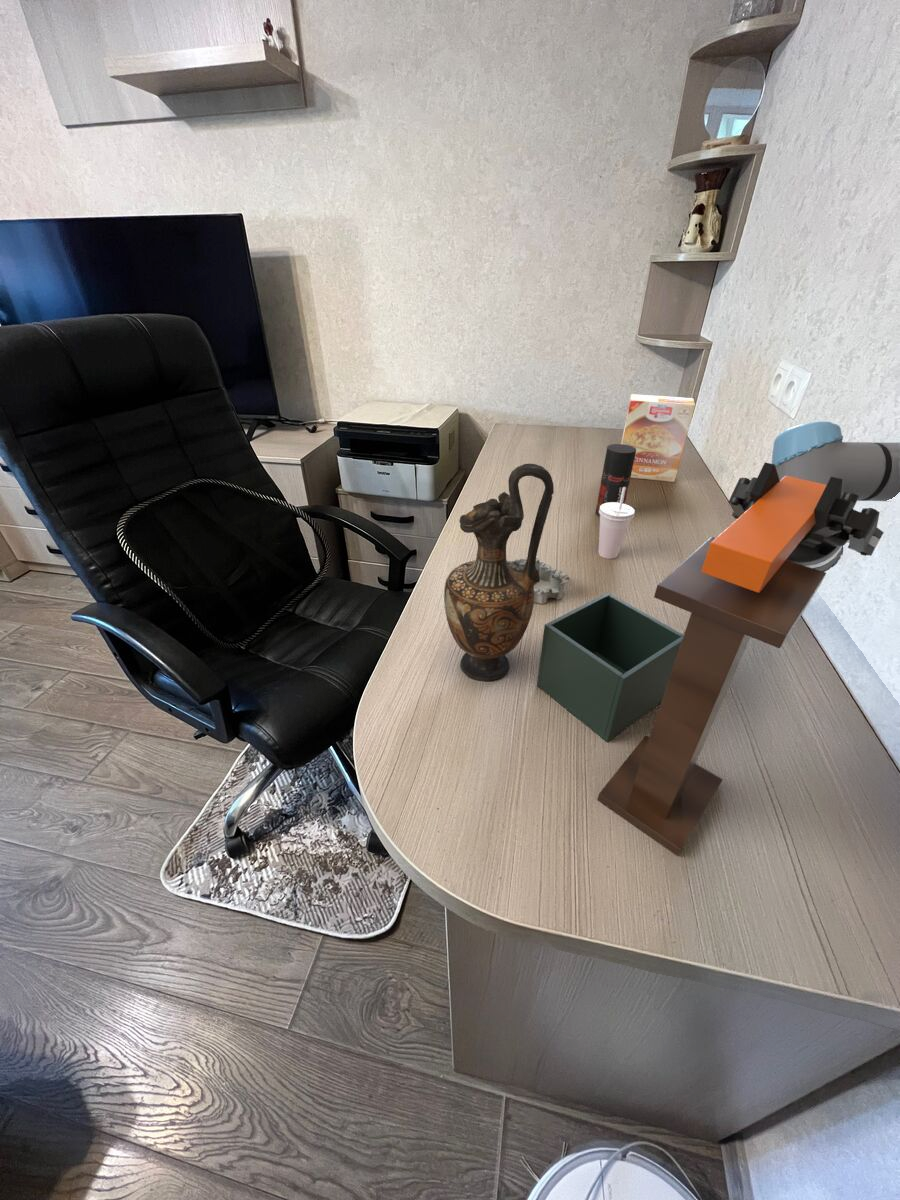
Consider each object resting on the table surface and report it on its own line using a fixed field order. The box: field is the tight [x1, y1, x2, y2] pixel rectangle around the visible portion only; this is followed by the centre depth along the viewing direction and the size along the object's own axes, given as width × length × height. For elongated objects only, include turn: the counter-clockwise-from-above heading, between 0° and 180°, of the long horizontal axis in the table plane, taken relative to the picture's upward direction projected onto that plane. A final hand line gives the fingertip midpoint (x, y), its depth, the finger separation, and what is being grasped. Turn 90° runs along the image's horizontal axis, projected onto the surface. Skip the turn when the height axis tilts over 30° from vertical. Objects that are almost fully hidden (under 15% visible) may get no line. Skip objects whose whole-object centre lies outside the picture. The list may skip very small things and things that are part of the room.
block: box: [701, 476, 827, 593], centre depth 40 cm, size 18×4×2 cm, turn 136°
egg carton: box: [507, 557, 570, 605], centre depth 88 cm, size 11×8×4 cm
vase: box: [443, 463, 555, 682], centre depth 63 cm, size 12×12×30 cm
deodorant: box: [595, 443, 636, 518], centre depth 110 cm, size 6×6×15 cm
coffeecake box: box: [620, 393, 696, 483], centre depth 128 cm, size 15×7×20 cm, turn 73°
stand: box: [597, 536, 827, 857], centre depth 47 cm, size 11×9×28 cm
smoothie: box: [598, 487, 636, 560], centre depth 95 cm, size 6×6×14 cm
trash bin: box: [536, 592, 684, 743], centre depth 65 cm, size 12×12×11 cm
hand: (794, 487), depth 40 cm, fingers closed on block, 4 cm apart
